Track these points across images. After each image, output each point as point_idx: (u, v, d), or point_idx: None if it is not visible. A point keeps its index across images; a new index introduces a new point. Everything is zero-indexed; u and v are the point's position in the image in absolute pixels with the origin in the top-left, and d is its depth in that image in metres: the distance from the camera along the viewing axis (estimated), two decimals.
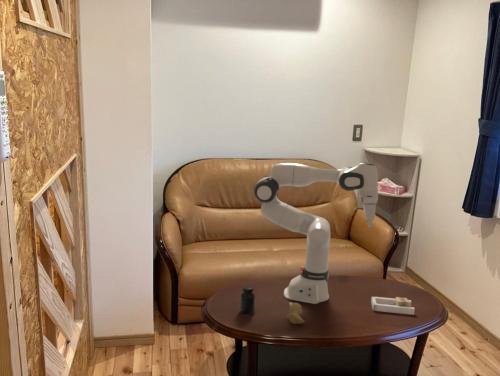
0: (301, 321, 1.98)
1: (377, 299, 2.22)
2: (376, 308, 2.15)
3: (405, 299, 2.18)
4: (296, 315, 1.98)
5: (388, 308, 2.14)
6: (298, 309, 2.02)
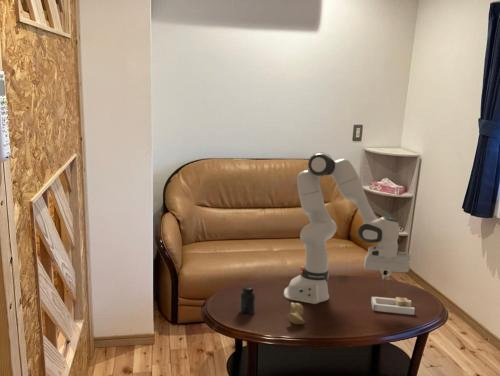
0: (302, 321, 1.98)
1: (377, 299, 2.22)
2: (376, 308, 2.15)
3: (405, 299, 2.18)
4: (297, 315, 1.98)
5: (388, 308, 2.14)
6: (299, 309, 2.01)
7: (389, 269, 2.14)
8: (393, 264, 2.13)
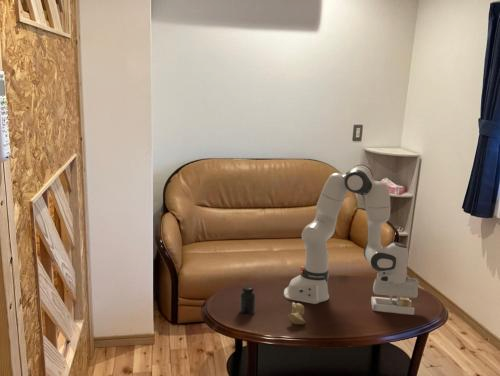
0: (302, 321, 1.97)
1: (377, 299, 2.22)
2: (376, 308, 2.15)
3: (407, 299, 2.17)
4: (297, 315, 1.98)
5: (388, 308, 2.14)
6: (300, 309, 2.01)
7: (398, 294, 2.15)
8: (402, 289, 2.15)
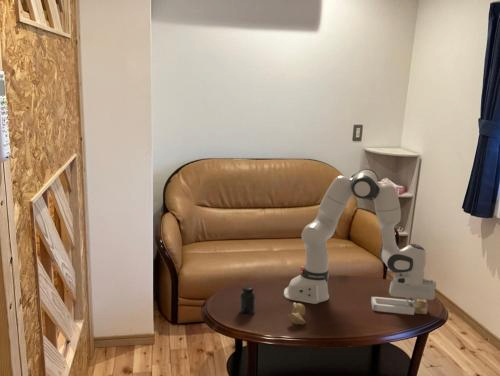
0: (302, 322, 1.97)
1: (377, 299, 2.22)
2: (376, 308, 2.15)
3: (424, 301, 2.16)
4: (297, 315, 1.98)
5: (388, 308, 2.14)
6: (301, 310, 2.01)
7: (414, 296, 2.14)
8: (418, 291, 2.13)
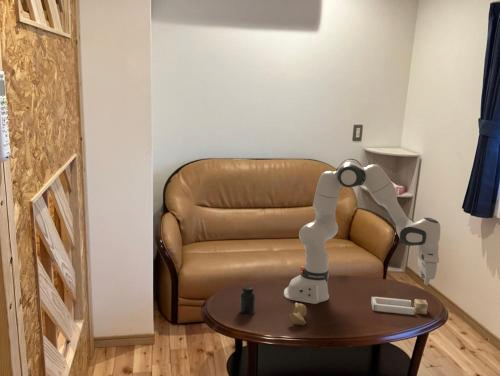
0: (303, 322, 1.97)
1: (377, 299, 2.22)
2: (376, 308, 2.15)
3: (424, 301, 2.16)
4: (298, 315, 1.97)
5: (388, 308, 2.14)
6: (302, 310, 2.01)
7: None
8: None
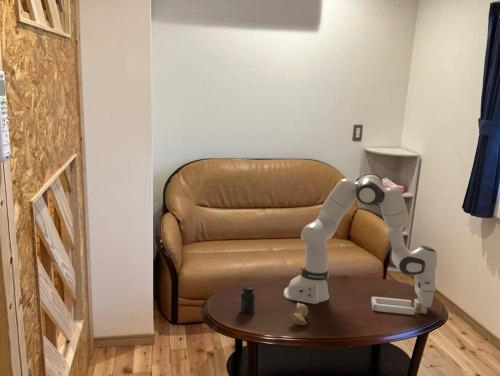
0: (303, 322, 1.97)
1: (377, 299, 2.22)
2: (376, 308, 2.15)
3: None
4: (299, 316, 1.97)
5: (388, 308, 2.14)
6: (303, 310, 2.01)
7: None
8: None
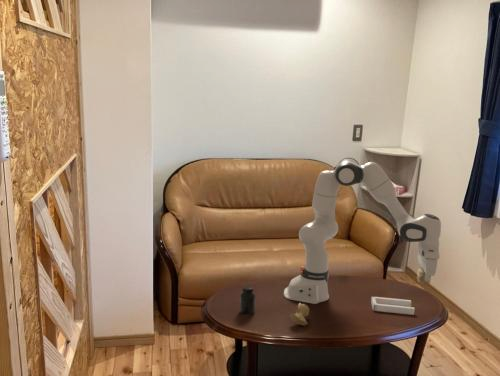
0: (304, 322, 1.97)
1: (377, 299, 2.22)
2: (376, 308, 2.15)
3: None
4: (299, 316, 1.97)
5: (388, 308, 2.14)
6: (304, 310, 2.00)
7: None
8: None
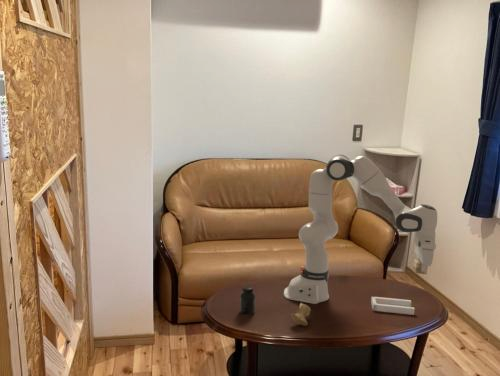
0: (304, 323, 1.96)
1: (377, 299, 2.22)
2: (376, 308, 2.15)
3: None
4: (300, 316, 1.97)
5: (388, 308, 2.14)
6: (304, 311, 2.00)
7: None
8: None
